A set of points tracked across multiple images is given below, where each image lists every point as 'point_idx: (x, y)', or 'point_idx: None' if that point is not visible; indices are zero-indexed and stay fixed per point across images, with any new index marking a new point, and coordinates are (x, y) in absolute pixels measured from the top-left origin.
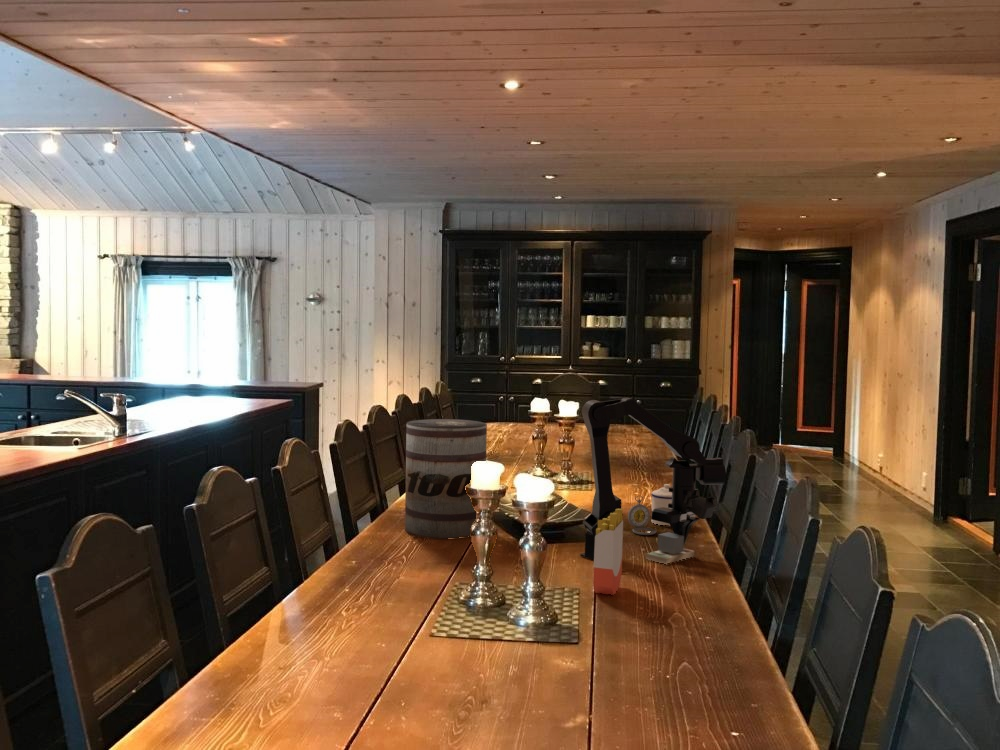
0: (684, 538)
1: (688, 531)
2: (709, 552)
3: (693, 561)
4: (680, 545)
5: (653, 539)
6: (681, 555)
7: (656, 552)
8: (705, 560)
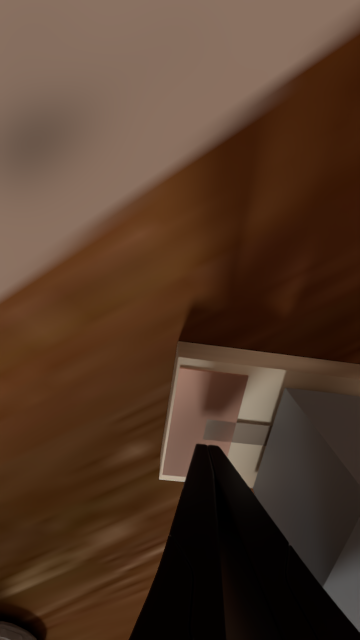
0: (216, 485)
1: (182, 549)
2: (9, 326)
3: (273, 298)
4: (353, 426)
5: (44, 588)
6: (316, 371)
7: None
8: (201, 254)
